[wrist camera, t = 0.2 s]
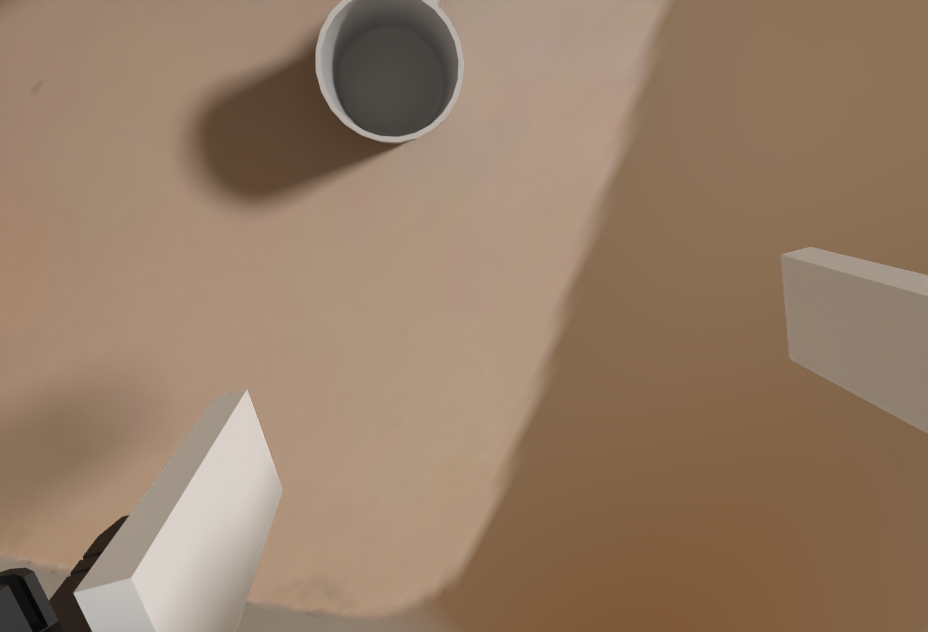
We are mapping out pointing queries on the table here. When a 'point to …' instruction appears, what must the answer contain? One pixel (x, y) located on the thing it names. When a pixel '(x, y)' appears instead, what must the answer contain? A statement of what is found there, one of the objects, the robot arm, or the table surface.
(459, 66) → the cup
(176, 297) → the table surface
